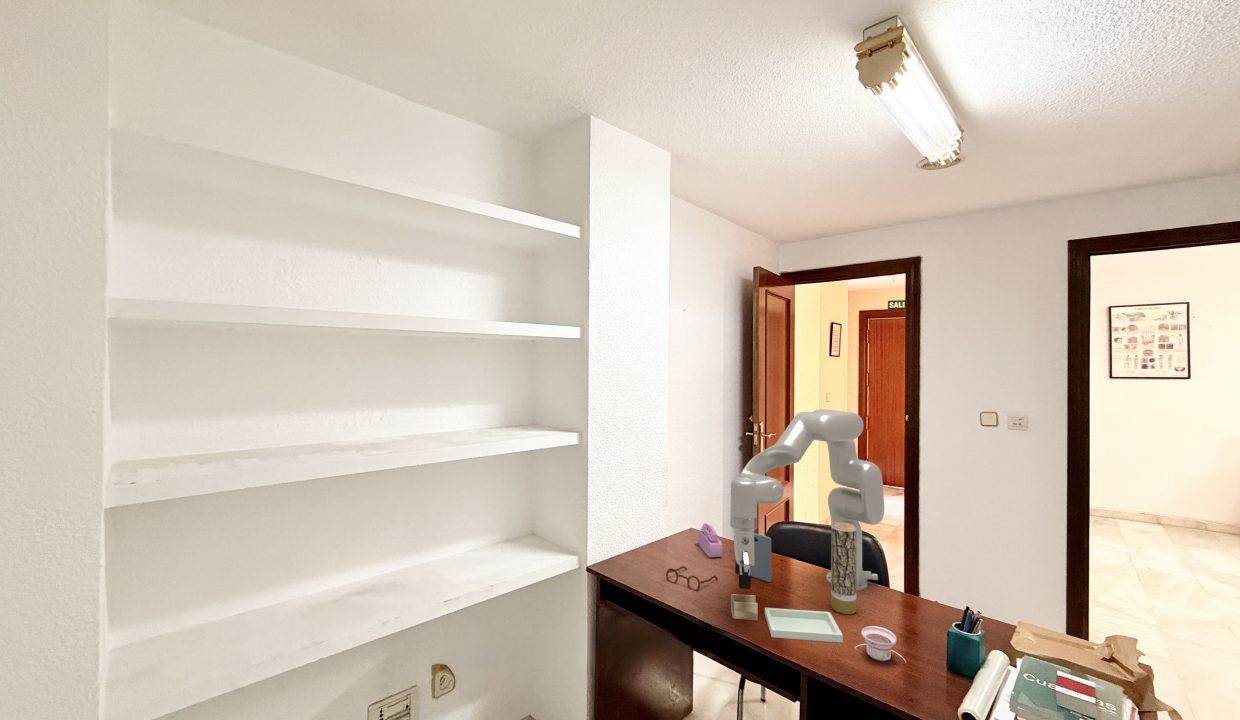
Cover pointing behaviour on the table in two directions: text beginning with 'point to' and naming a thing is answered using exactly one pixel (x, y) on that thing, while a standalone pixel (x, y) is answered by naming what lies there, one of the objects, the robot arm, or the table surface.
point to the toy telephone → (710, 541)
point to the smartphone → (762, 558)
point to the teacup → (879, 642)
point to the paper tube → (843, 568)
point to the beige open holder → (744, 607)
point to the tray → (803, 625)
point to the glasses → (687, 578)
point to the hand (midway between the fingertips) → (742, 580)
